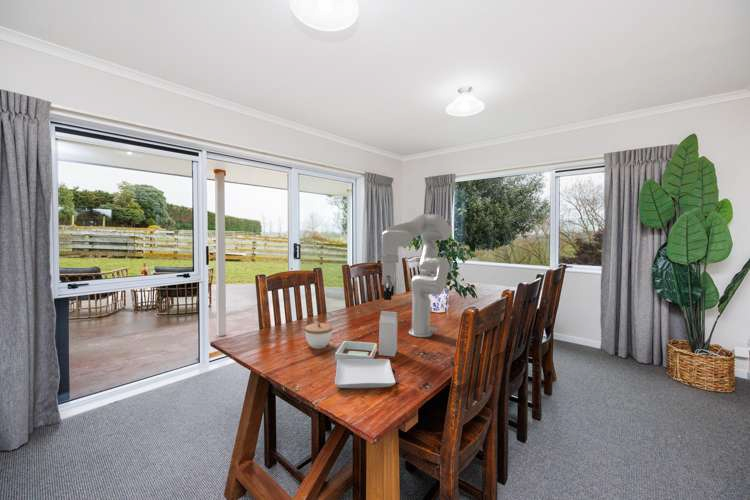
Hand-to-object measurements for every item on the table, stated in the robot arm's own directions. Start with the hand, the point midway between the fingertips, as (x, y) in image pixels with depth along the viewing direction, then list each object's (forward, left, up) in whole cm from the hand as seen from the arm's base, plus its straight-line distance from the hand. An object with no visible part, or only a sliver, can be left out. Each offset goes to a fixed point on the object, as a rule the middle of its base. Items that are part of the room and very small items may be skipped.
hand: (388, 297), depth 142 cm
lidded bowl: (+33, -2, -26) cm, 42 cm away
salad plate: (+6, +25, -26) cm, 36 cm away
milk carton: (0, 0, -26) cm, 26 cm away
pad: (+13, +6, -25) cm, 29 cm away
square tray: (+13, +6, -25) cm, 29 cm away
